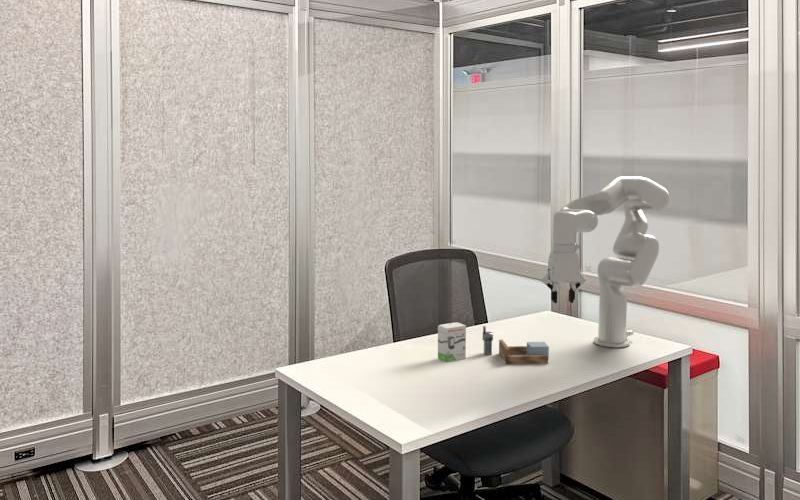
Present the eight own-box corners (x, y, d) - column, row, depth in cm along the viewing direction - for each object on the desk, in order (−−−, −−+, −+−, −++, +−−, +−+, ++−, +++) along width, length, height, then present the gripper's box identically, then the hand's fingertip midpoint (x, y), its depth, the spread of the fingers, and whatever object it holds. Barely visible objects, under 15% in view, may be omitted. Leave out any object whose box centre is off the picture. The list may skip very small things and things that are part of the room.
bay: (538, 352, 233) (539, 338, 232) (547, 363, 221) (548, 348, 220) (498, 353, 232) (499, 339, 232) (505, 364, 221) (506, 349, 220)
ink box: (445, 362, 223) (445, 328, 221) (437, 358, 227) (437, 325, 225) (466, 358, 227) (466, 324, 225) (457, 355, 231) (458, 321, 230)
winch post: (491, 352, 234) (492, 324, 233) (493, 355, 231) (494, 327, 229) (481, 352, 234) (481, 325, 233) (483, 355, 230) (483, 327, 229)
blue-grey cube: (543, 355, 230) (544, 341, 229) (548, 361, 224) (548, 346, 223) (526, 356, 230) (526, 342, 229) (530, 361, 224) (531, 346, 223)
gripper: (586, 246, 226) (584, 299, 229) (536, 247, 226) (535, 300, 228) (593, 249, 219) (591, 304, 221) (541, 250, 218) (540, 305, 221)
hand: (562, 301), depth 225 cm, fingers open, 4 cm apart
